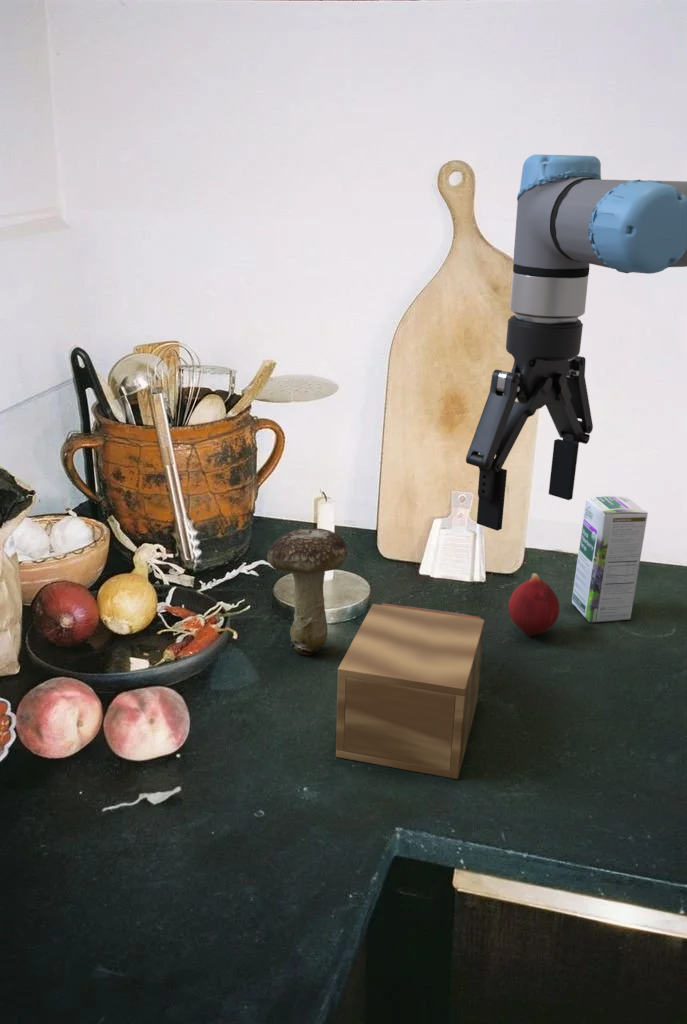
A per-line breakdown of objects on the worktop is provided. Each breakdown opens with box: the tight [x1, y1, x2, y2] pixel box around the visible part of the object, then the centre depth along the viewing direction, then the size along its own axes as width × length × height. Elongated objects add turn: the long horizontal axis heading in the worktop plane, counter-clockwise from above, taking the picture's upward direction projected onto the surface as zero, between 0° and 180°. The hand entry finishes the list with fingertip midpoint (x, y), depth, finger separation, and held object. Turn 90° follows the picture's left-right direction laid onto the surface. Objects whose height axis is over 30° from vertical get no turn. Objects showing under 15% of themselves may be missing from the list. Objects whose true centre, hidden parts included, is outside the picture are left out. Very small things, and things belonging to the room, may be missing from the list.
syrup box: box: [571, 495, 649, 623], centre depth 115 cm, size 6×6×14 cm
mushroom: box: [266, 528, 349, 656], centre depth 103 cm, size 9×9×15 cm
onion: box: [507, 572, 560, 637], centre depth 110 cm, size 6×6×8 cm
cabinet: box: [335, 603, 485, 780], centre depth 91 cm, size 14×12×10 cm
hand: (526, 511), depth 103 cm, fingers open, 13 cm apart
